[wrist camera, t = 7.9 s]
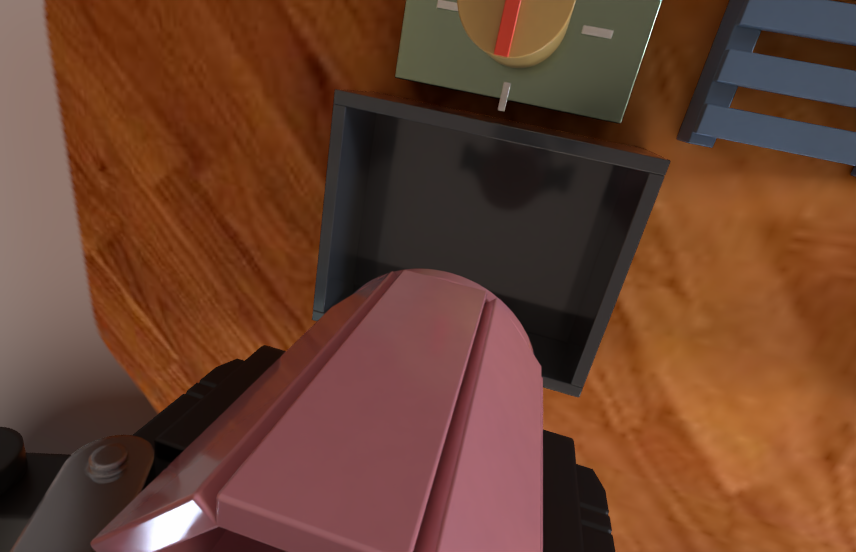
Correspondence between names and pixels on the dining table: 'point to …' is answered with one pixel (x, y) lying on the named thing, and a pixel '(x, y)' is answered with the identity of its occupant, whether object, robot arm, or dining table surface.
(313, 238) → the dining table surface
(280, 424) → the cup
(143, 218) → the dining table surface
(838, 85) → the drying rack
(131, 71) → the dining table surface
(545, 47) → the tap knob
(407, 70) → the tap panel
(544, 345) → the dark grey open box
